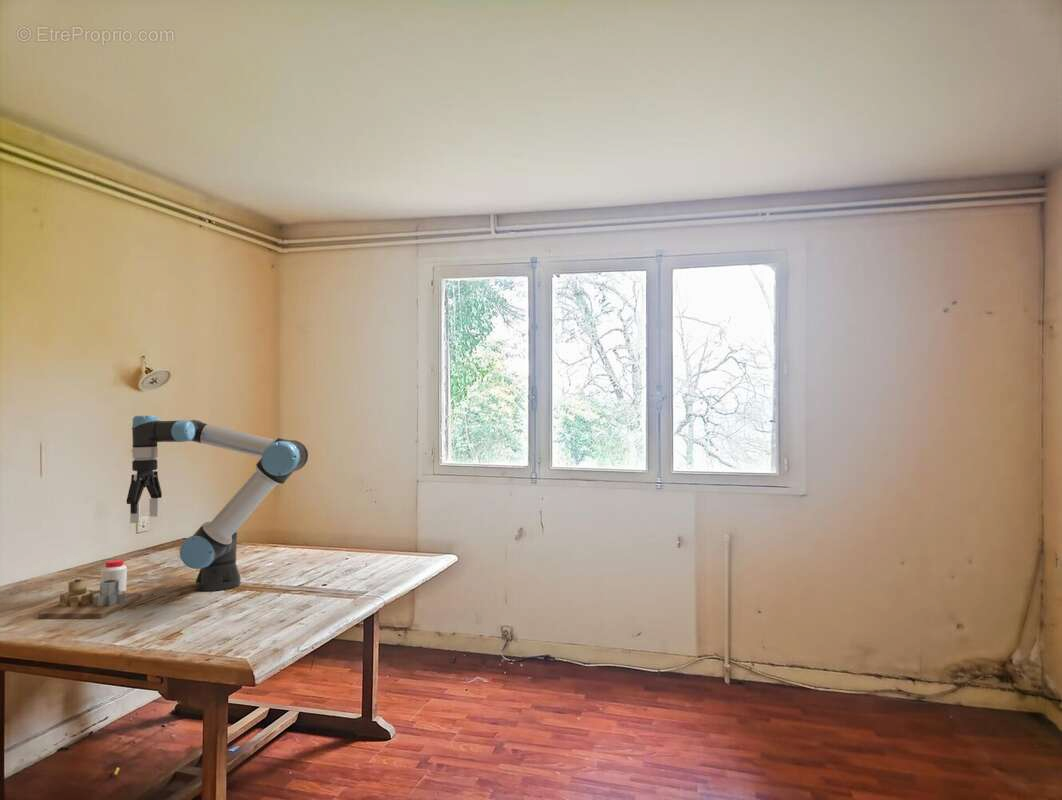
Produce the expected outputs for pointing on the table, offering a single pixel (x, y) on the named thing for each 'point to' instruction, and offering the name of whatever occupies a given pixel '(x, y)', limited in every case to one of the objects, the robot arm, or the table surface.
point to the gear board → (87, 609)
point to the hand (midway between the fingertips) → (144, 519)
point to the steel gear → (108, 594)
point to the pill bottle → (115, 572)
